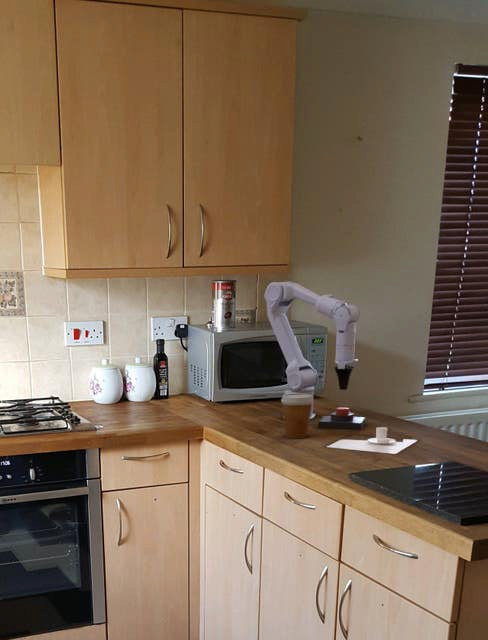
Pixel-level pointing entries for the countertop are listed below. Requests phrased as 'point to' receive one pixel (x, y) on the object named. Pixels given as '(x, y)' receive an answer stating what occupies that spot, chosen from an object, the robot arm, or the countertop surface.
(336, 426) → the control block
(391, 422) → the countertop surface
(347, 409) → the red push button
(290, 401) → the disposable coffee cup
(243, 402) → the countertop surface
